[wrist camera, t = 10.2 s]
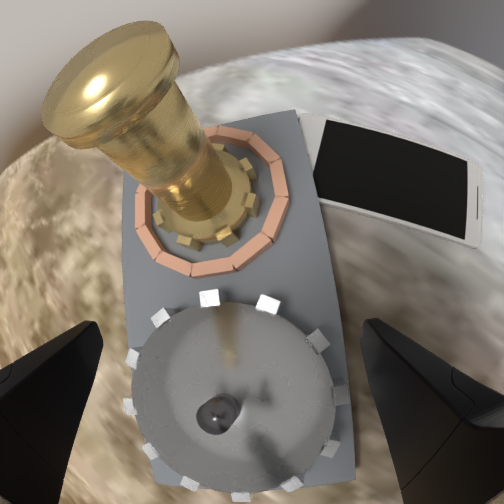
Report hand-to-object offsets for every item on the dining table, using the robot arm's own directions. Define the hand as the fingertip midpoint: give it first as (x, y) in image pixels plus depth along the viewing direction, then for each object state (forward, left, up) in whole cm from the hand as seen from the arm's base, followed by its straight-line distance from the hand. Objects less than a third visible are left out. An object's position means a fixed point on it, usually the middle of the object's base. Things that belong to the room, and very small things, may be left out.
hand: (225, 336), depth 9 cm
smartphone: (+9, -11, -11) cm, 17 cm away
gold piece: (+9, +2, -9) cm, 12 cm away
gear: (-4, +2, -9) cm, 10 cm away
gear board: (+2, +2, -10) cm, 11 cm away
